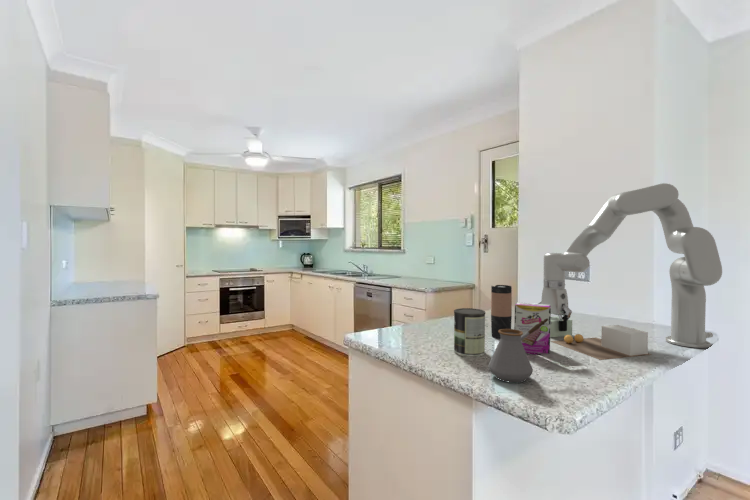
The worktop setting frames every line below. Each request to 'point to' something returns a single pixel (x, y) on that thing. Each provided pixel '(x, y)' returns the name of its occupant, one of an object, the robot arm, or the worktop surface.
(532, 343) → the candy bar box
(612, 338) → the white block
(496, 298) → the travel mug
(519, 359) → the coffee pot
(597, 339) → the walnut board
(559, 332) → the pale green block
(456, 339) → the coffee can
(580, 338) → the marble
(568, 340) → the marble
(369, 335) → the worktop surface
